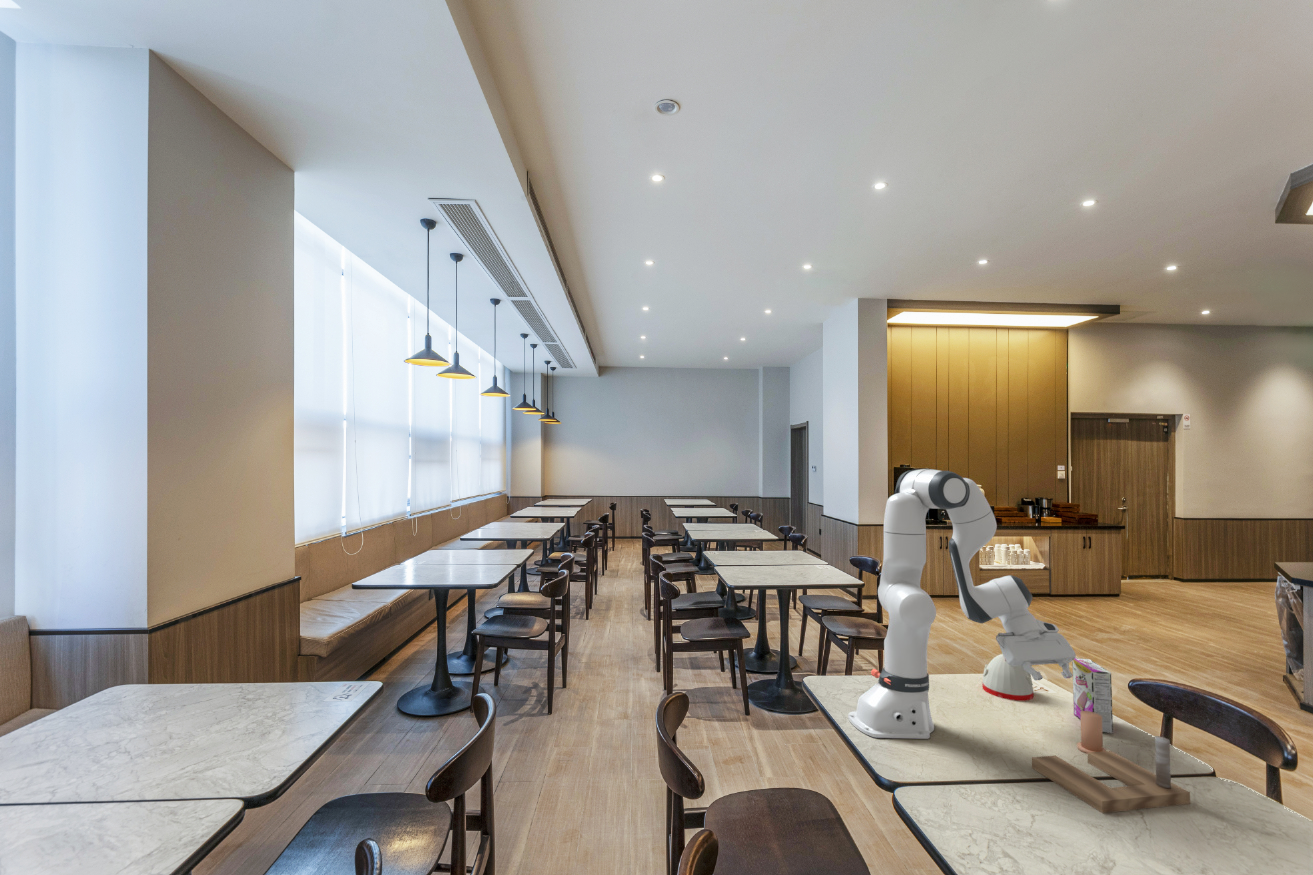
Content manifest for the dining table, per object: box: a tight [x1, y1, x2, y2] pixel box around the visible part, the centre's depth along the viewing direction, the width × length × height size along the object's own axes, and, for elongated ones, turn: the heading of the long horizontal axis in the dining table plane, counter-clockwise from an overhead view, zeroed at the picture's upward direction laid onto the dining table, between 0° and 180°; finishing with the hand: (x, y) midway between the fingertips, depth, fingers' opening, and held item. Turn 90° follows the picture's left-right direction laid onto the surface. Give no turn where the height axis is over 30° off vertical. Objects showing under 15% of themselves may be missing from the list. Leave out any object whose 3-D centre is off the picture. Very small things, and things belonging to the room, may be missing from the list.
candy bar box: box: [1071, 657, 1114, 734], centre depth 162 cm, size 11×5×16 cm, turn 168°
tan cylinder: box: [1076, 711, 1108, 755], centre depth 146 cm, size 6×6×9 cm
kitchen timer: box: [981, 653, 1034, 702], centre depth 184 cm, size 14×14×15 cm
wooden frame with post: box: [1031, 735, 1191, 814], centre depth 131 cm, size 22×18×12 cm
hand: (1054, 678), depth 157 cm, fingers open, 8 cm apart
